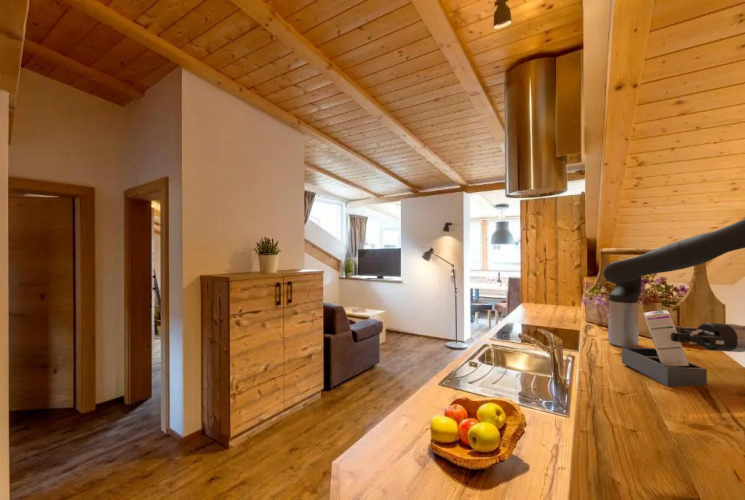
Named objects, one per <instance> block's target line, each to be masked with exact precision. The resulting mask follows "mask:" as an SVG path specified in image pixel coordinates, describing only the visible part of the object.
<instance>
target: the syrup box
mask: <svg viewBox="0 0 745 500" xmlns="http://www.w3.org/2000/svg"><path fill="white" fill-rule="evenodd" d="M643 316H644V319H645V322H646V325H647V328H648V331H649V334H650V337H651V339H652V342H653V345H654V348H655V349H656V351H657V354H658V357H659V360H660V362H661V364H663V365H665V366H667V367H676V366H689V364H688V362H689V361H688V359H687V355H686V353H685V350H684V347H683V344H682V342H674V341H672V340H671V334H672V333H677V330H676V328H675V326H676V325H675V323H674V320H673V318H672V315H671V313H670V312H669V311H668V310H666V309H663V310H662V309H661V310H653V311H647V312H643Z"/></svg>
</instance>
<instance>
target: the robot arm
mask: <svg viewBox="0 0 745 500" xmlns="http://www.w3.org/2000/svg"><path fill="white" fill-rule="evenodd" d="M742 249H745V218H744V219H741V220H738V221H737V222H734V223H731V224H729V225H727V226H724V227H721V228H719V229H716V230H713V231H709V232H706V233H702V234H698V235H694V236H692V237H689V238H688V237H687V238H685V239H684V238H683V239H681V240H677V241H675V242H672V243H668V244H666V245H664V246H661V247H658V248H655V249H653V250H651V251H648V252H645V253H642V254H640V255H638V256H635V257H631V258H625V259H622V260H616V261H612V262H610V263H609V264H607V265H606V266H605V268H604V270H603V277H604V278H605V280H606V281H607V282H609V283H611V284H614V288H613V290H612V291H611V292H609V294H608V319H607V326H608V327H607V329H608V330H607V331H608V332H607V333H608V334H607V341H608V343H609V344H611V345H614V346H618V347H621V348H622V347H631V348H635V347H634V346H638V347H639V299H640V296H641V293H642V292H641V291H642V277H644V276H647V275H653V274H661V273H668V272H675V271H680V270H684V269H688V268H692V267H696V266H699V265H702V264H705V263H708V262H710V261H712V260H714V259H716V258H719V257H720V256H722V255H724V254H726V253H730V252H733V251H734V252H735V251H737V250H742ZM675 328H676V330H677V333H672V334H671V340H672V341H674V342H681V343H688V344H691V345H697V346H699V347H703V348H704V349H705V350H708V351H714V352H730V353H745V325H739V324H735V323H734V324H733V323H732V324H731V323H718V322H717V323H716V322H715V323H714V322H704V323H702V324H701V323H700V325H699V326H698V327H692V326H687V327H686V326H682V325H675Z"/></svg>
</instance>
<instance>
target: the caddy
mask: <svg viewBox="0 0 745 500" xmlns="http://www.w3.org/2000/svg"><path fill="white" fill-rule="evenodd" d="M621 363H622V364H623V365H626V366H628V367H630V368H631V369H633V370H636V371H638V372H639V373H640V374H643V375H644V376H646V377H648V378H651V379H652V380H654V381H656V382H659V383H660V384H661V385H663V386H666V387H693V386H696V387H697V386H699V387H700V386H708V382H707V381H708V380H707V379H708V372H707V371H708V370H707V368H705V367H702V366H699V365H697V364H694V363H692V362H690V361H688V364H689V366H676V367H667V366H665V365H663V364H661V362H660V360H659V357H658V354H657V351H656V348H655V347H622V346H621Z"/></svg>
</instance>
